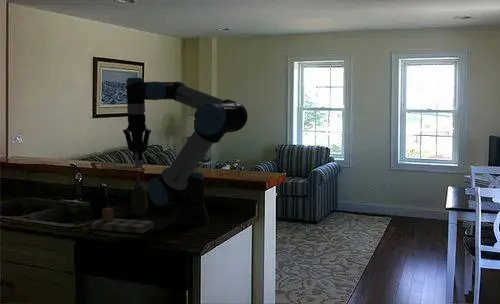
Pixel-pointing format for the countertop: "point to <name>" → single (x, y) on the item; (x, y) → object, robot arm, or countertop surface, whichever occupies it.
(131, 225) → the panel
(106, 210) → the fader tab
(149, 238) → the countertop surface
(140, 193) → the squeeze bottle
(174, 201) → the robot arm
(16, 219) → the countertop surface
